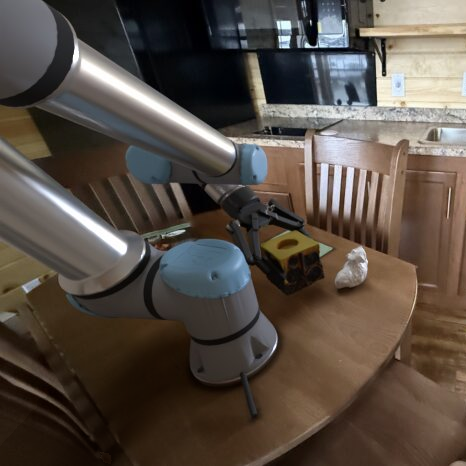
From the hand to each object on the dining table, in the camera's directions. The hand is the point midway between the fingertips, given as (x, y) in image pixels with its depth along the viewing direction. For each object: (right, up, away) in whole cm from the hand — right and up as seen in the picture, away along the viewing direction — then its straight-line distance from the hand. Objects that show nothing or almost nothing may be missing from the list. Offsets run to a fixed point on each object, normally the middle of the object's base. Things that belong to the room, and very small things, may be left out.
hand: (301, 265), depth 73 cm
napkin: (-9, +3, +21) cm, 23 cm away
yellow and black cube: (-2, -4, +3) cm, 5 cm away
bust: (+11, -5, +8) cm, 15 cm away
